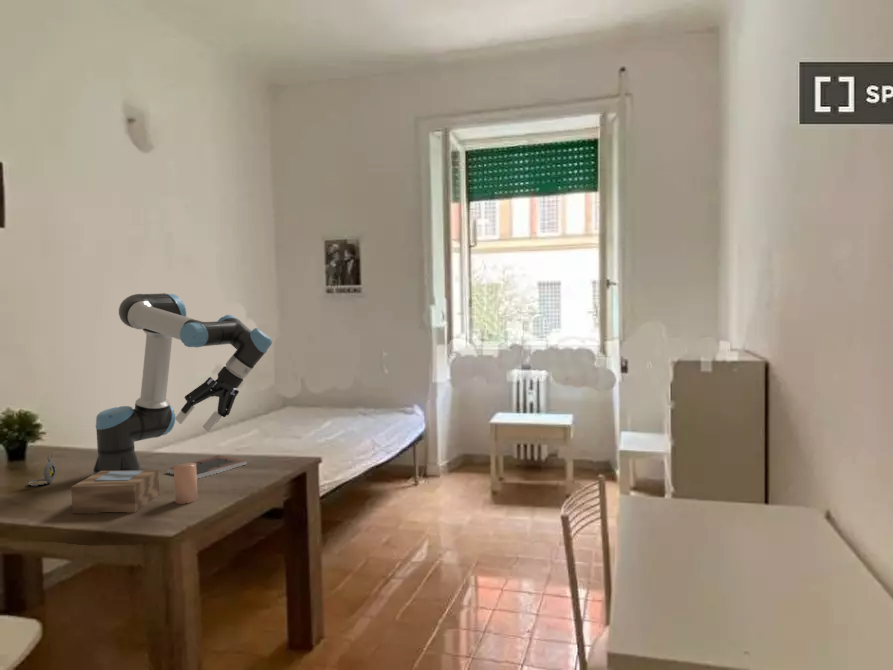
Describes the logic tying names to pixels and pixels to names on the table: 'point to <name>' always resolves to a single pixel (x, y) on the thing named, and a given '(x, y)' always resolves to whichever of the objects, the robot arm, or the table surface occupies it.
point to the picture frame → (213, 465)
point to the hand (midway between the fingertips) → (192, 425)
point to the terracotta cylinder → (185, 483)
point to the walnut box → (115, 491)
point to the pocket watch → (47, 473)
